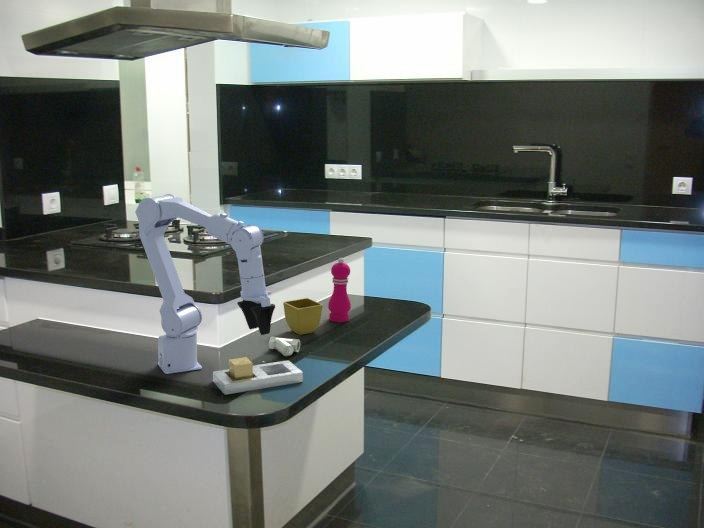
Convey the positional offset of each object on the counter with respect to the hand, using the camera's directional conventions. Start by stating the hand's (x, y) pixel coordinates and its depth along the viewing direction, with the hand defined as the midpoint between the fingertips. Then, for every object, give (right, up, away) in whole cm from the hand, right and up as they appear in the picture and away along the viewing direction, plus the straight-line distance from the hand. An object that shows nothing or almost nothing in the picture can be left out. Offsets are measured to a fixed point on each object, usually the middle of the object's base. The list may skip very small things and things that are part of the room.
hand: (259, 331), depth 176 cm
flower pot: (+8, -4, +41) cm, 42 cm away
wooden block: (-5, -13, +1) cm, 14 cm away
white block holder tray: (-1, -13, +3) cm, 13 cm away
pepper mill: (+18, -2, +55) cm, 58 cm away
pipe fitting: (+3, -8, +24) cm, 26 cm away
